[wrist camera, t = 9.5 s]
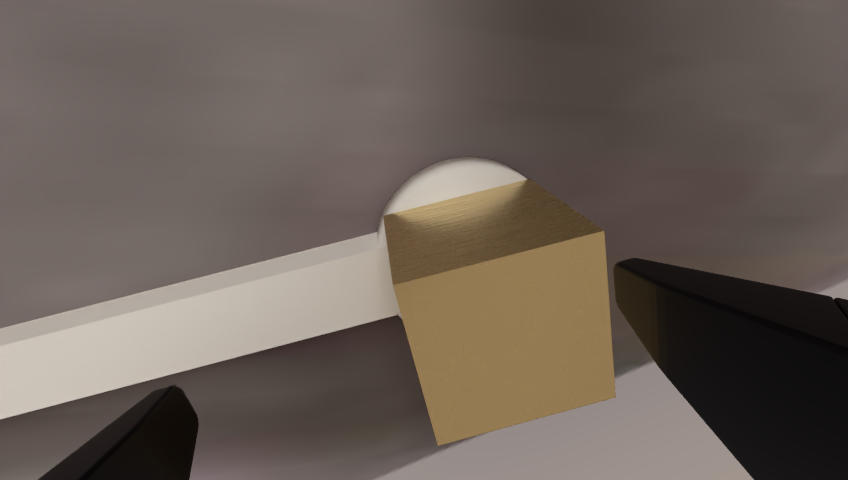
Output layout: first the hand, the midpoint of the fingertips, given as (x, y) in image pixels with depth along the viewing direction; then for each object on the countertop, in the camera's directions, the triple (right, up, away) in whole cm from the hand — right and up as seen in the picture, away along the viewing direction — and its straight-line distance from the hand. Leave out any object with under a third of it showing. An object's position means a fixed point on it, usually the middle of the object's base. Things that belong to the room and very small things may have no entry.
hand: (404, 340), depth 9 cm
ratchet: (-8, -1, +11) cm, 14 cm away
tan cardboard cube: (+2, +1, +10) cm, 10 cm away
